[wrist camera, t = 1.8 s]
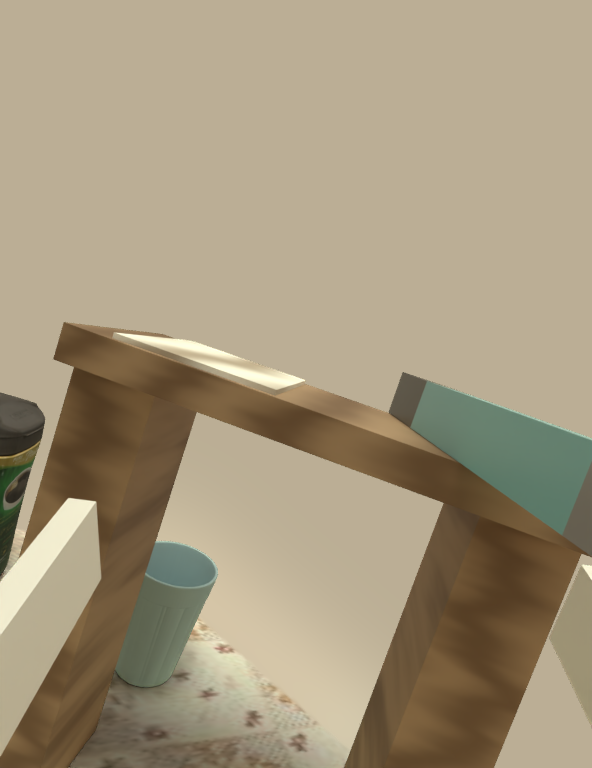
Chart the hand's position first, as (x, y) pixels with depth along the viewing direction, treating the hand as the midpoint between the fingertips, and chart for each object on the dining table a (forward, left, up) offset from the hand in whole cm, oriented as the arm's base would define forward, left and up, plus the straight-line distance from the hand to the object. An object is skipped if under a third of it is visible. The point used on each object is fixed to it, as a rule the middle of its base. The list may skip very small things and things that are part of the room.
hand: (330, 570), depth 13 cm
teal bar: (+6, +12, +3) cm, 13 cm away
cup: (-11, +28, -28) cm, 41 cm away
